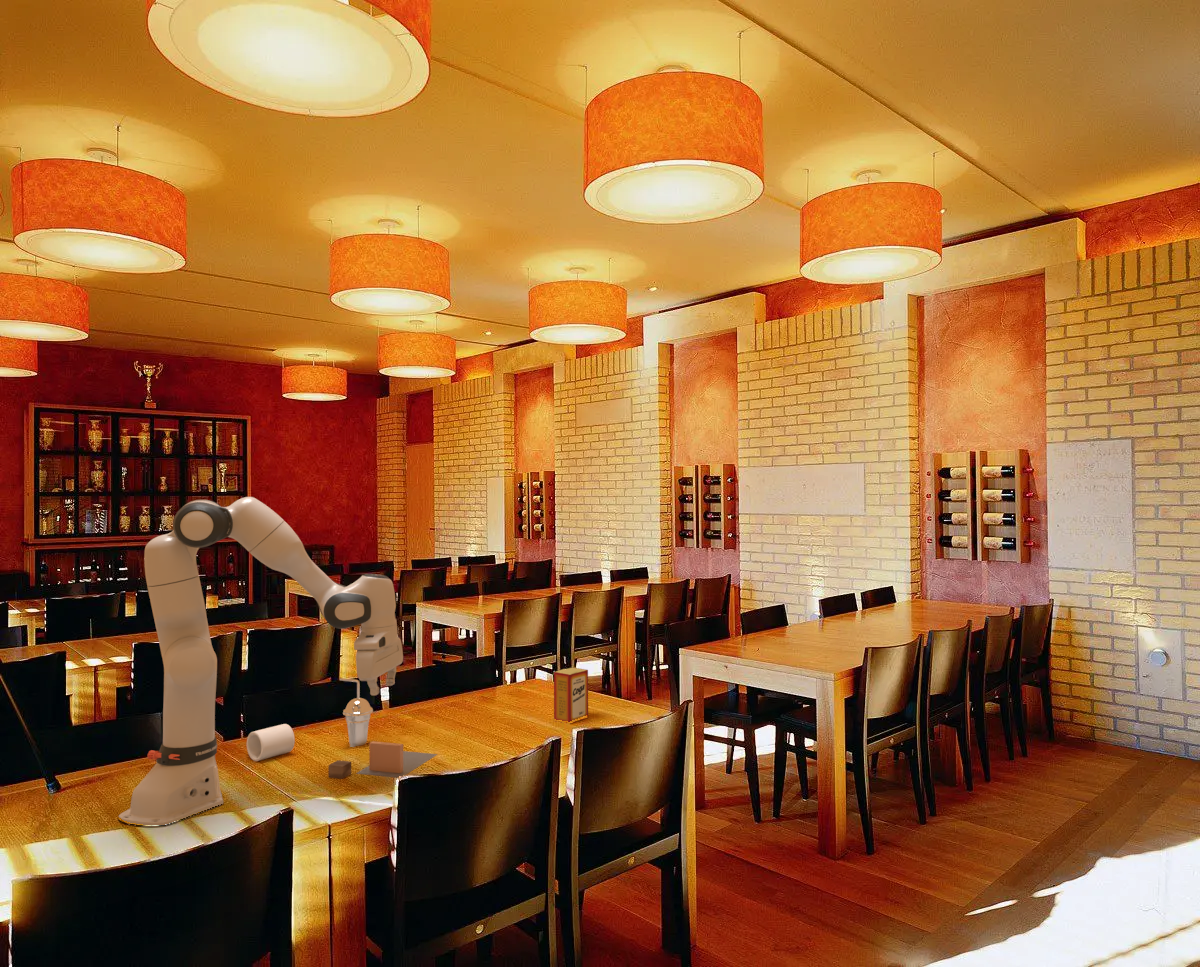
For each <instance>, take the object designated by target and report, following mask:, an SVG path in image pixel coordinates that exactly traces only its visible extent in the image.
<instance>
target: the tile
mask: <svg viewBox="0 0 1200 967" xmlns="http://www.w3.org/2000/svg"><path fill="white" fill-rule="evenodd" d="M368 744H369V749H368V750H369V759H368V760H369V763H368V764H369V765H368V766H369V770H374V771H384V772H394V773H401V772H403V751H404V743H394V742H383V741H373V740H372V741H370V742H369V743H368Z"/></svg>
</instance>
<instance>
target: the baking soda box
mask: <svg viewBox="0 0 1200 967" xmlns="http://www.w3.org/2000/svg"><path fill="white" fill-rule="evenodd" d="M586 715H588V716H589V670H588V669H585V668H579V667H573V666H572V667H569V668H563V669H559V670H557V671H554V672H553V719H556V720H562V721H568V722H570V721H572V720H575V719H578V718H580V717H583V716H586Z"/></svg>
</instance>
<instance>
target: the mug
mask: <svg viewBox="0 0 1200 967" xmlns="http://www.w3.org/2000/svg"><path fill="white" fill-rule="evenodd" d="M295 739H296V738H295V733H294V731H293V728H292V727H291V726H290V725H289V724H287V723H283V724H282V723H281V724H278V725H274V726H269V727H266V728H262V729H258V730H255V731H251V732H250V733H249V734H248V736H247V739H246V749H247V750H246V751H247V754H248V756H249V758H250V759H251V760H253V762H259V761H262V760H266V759H269V758H270V759H271V758H273V757H277V756H280V755H284V754H287V753H291V751H293V749H294V747H295V742H296V741H295Z"/></svg>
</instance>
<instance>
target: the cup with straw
mask: <svg viewBox="0 0 1200 967" xmlns="http://www.w3.org/2000/svg"><path fill="white" fill-rule="evenodd" d="M339 681H343V682H350V683H351V682H353V683H356V698H355V697H354V698H353V699H351V700H349V702H348V703H347V705H346V707H345V709H343V710H342V711H343V712H342V714H343V716H345V721H346V722H345V723H346V724H347V733H348V743H349V748H350V747H353V748H355V747H356V746H357V747H358V746H363V745H365V744H367V742H368V730H369V724H370V718H371V714H372V713H374V709H373V707H372V706H371V705H370V703H369V701H368V700H367V699H366V698H362V697H360V696H361V695H360V693H361V692H360V691H361V690H360V687H361V686H360V680H358V679H353V678H343V677H339Z"/></svg>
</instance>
